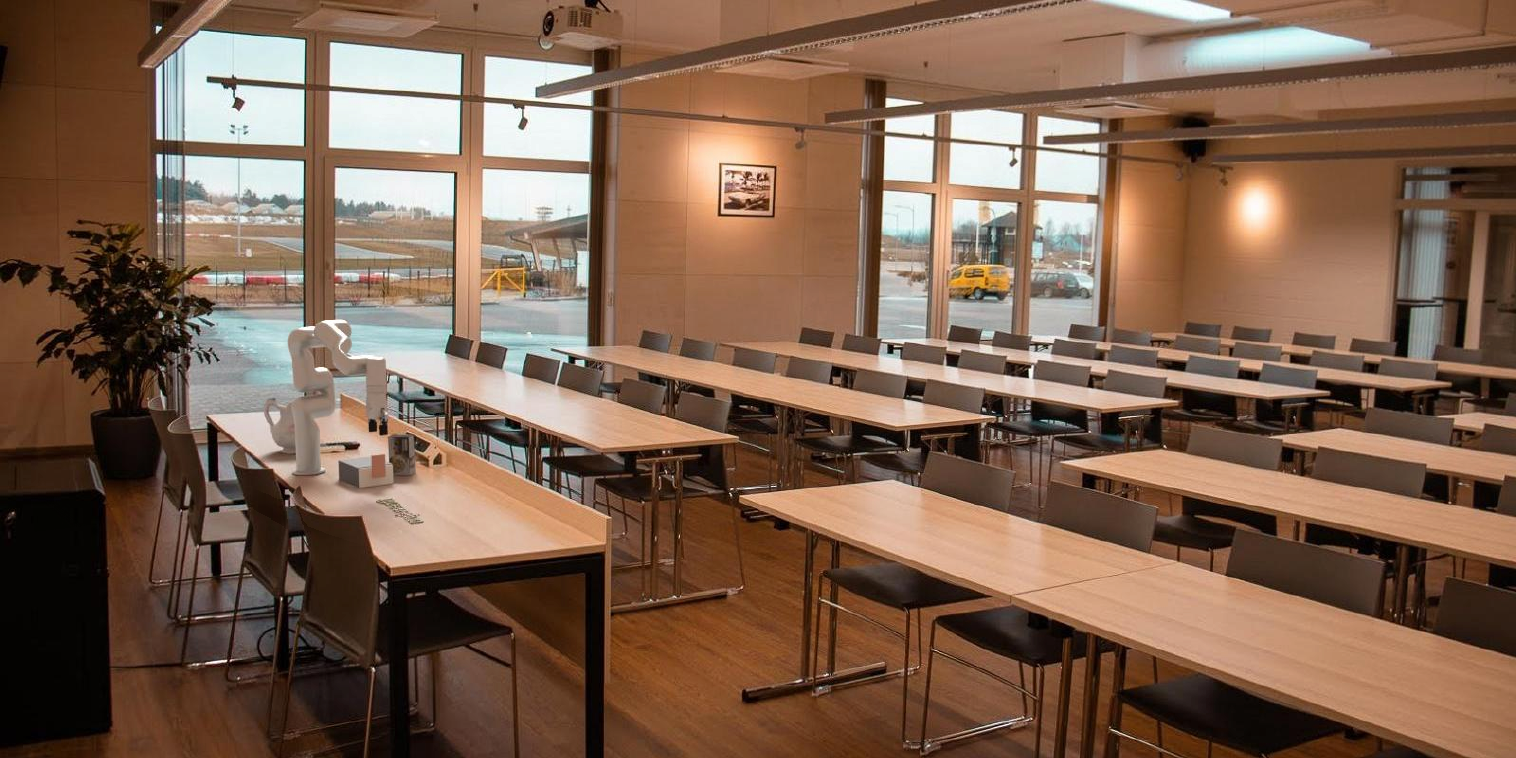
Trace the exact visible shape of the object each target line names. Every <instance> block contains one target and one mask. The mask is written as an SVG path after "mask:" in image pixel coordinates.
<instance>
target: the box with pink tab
mask: <svg viewBox="0 0 1516 758" xmlns="http://www.w3.org/2000/svg"><path fill="white" fill-rule="evenodd" d="M370 457H371V460H372V467H370V468H362V469H359V488H358V489H364V487H365V488H371V486H373V487H379V486H378V485H380V486H387V485H393V484H394V475H393V465H386V466H385V461H386V454H385V453H377V454H371V455H370ZM386 484H387V485H386Z"/></svg>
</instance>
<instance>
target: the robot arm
mask: <svg viewBox="0 0 1516 758" xmlns="http://www.w3.org/2000/svg"><path fill="white" fill-rule="evenodd" d="M351 335H352V327H351V325H350V323H348V321H346V320H343V319H333V320H321V321H320V322H318V323H316V324H315V326H305V327H299V328H296V329H295V328H294V329H293V330H292V331H290V333H289V335H288V337H287V348H288V351H289V355H290V358H291V367H292V369H291V371H292V381H293V387H294V389H295V391H296V392H298V393H312V392H316V393H317V394H310V395H304V396H303V395H302V396H299V397H296V398H295V399H294V400H292V401H293V402H292V405H291V410H292V414H293V419H294V426H295V445H296V453H295V463H296V464H295V467H296V468H294V469H293V470H292V471H291V473H292V475H295V476H315V475H320V474H324V473H325V472H326V468H325V467H322V459H321V457H322V456H321V453H322V452H321V433H320V432H321V430H320V426H319V425H318V423H317V422H316V421H315V419H318V418H326V417H330V416H332V415H333V414H334V413H335V411H336V395H335V381H334V376H333V373H332V372H331V371H330V369H328V368H326V367H316V366H315V358H314V355H313V353H311V351H310V350H309V349H316V348H327V349H328V350H329V351H330V352H331V360H332V363H333V366H334V367H335V368H336V370H338V371H339V372H340V373H342V374H343V375H345V376H346V377H359V376H365V388H366V389H365V391H366V400H365V417H366V418H368V419H367V423H368V424H367V425H368V432H369V433H377V432H378V435H379V436H380V437H381V436H388V434H389V430H388V429H389V427H388V425H389V413H388V401H387V393H388V387H387V386H388V385H387V384H388V383H387V361H386V359H385V357H379V356H378V357H377V356H374V355H371V354H370V355H369V354H368V355H357V356H349V355H347V354H348V353H349V352H350V351H351V348H352V347H353V346H352V345H353V343H352V339H351ZM378 423H379V425H378Z"/></svg>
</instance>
